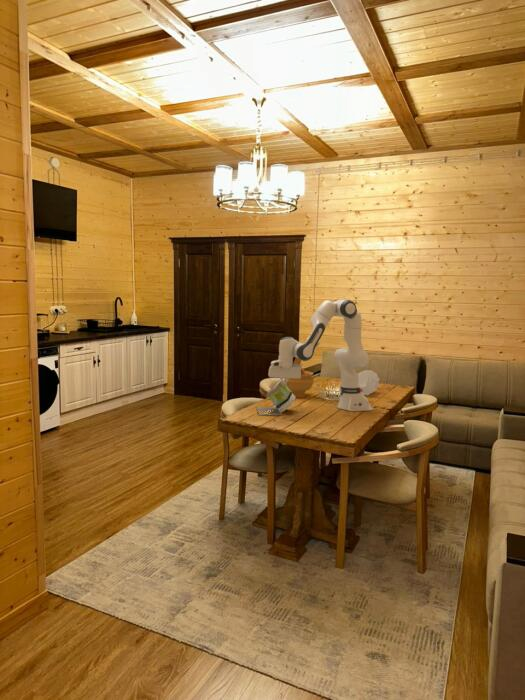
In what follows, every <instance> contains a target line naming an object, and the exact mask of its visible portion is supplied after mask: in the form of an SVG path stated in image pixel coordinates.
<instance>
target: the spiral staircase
mask: <svg viewBox="0 0 525 700" xmlns="http://www.w3.org/2000/svg"><path fill="white" fill-rule="evenodd" d="M357 374H358V376H359V379H358V387H359V388H362V389H363V392H360V393H361V394H363V395H364V396H369V395H370V394H373V393H375V391H376V390H377V389H378V388H379V387H380V380H381V379H380V378H379V376H378V373H376V372H374V371H373V370H372V369H371V370H367V369H365V370H362V371H359V372H357Z"/></svg>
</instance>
